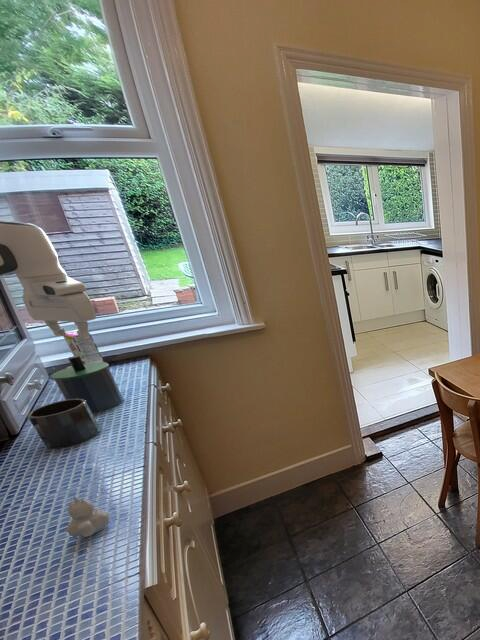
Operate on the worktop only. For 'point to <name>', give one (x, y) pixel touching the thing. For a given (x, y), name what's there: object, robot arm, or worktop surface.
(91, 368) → the lid
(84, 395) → the tin
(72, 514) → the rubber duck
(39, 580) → the worktop surface
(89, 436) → the cup
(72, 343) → the candy bar box
